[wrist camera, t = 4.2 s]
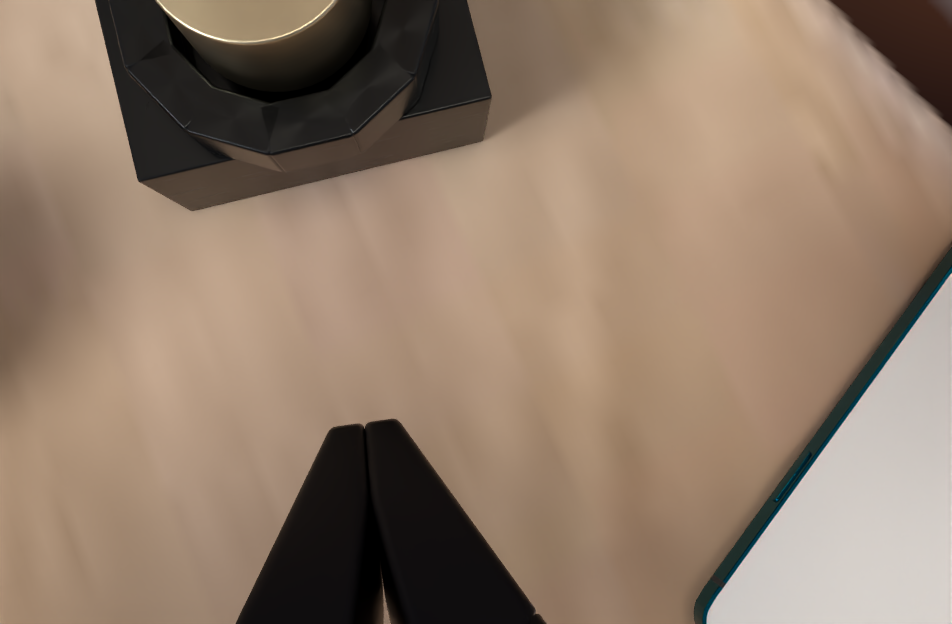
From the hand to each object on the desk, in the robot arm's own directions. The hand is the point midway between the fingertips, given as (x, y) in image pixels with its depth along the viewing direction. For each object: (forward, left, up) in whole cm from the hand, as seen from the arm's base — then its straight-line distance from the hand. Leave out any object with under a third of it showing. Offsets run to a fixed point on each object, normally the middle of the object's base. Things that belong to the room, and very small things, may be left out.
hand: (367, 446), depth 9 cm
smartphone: (+1, -16, -13) cm, 21 cm away
